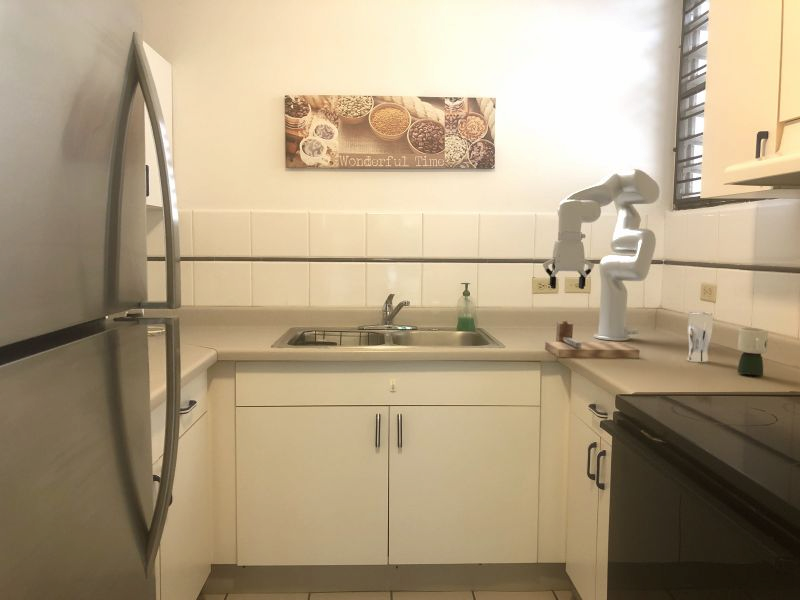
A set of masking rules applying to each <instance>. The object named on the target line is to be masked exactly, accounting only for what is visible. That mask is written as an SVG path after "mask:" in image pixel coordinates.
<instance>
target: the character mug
mask: <svg viewBox="0 0 800 600" xmlns="http://www.w3.org/2000/svg"><path fill="white" fill-rule="evenodd" d="M768 340H769V329H768V330H767V329H764V328H758V327H757V328H755V327H739V332H738V341H737V342H738V344H737V350H738V351H739V352H742V353H741V355H740V358H739V360H738V361H739V362H738V367H737V373H739V374H743V375H744V374H747V375H750V376H751V377H753V376H754V375H755V376H763V375H764V364H763V363H764V361H763V357H762V354H765V353H767V351H768Z"/></svg>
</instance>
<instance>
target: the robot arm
mask: <svg viewBox="0 0 800 600" xmlns="http://www.w3.org/2000/svg"><path fill="white" fill-rule="evenodd" d="M660 193H661V192H660V187H659V184H658V183H657V181H656V180H654V178H653V177H651V176H650V175H649V174H648V173H646V172H645V171H643V170H641V169H637V168H633V169H617V170H613V171H610V172H608V173H607V174H606V175H605V176H604V177H602V179H600V180H599V181H598V182H597V183H596V184H594V185H591V186H589V187H586V188H583V189H581V190H578V191H576V192H573V193H571V194H570V195H568V196H567V197H565V198H564V199H563V200H561V201H560V203H559V204H558V205H559V206H558V207H557V208H558V209H557V216H558V230H557V231H558V232H557V241H555V242H554V245H553V251H552V256H551V258H550V259H548V260H547V261H545V262H543V263H542V267H543V269H544V271H545V272H546V274H548V277H549V286H550V289H554V290H555V289H556V288H557V277H556V275H557V274H559V273H558V272H577V273H578V274H579V275H580V276H579V277H578V289H581V290H584V289H585V286H586V278H587V277H588V276H589V275H590V273H591V272H592V270H593V268H594V267H595V264H594V263H592V262H591V261H590V260H588V259H586V258H585V257H586V256H585V247H584V241H582V240H583V239H585V238H586V234H584V233H583V231H582V228H583V224H590V223H595V222H596V221H598V220H599V219H600V217H601V213H602V209H601V208H602V207H607V206H608V205H610V204H611V203H612V202H613V203H614V206H615V209H616V216H617V217H616V218H617V219H616V222H615V225H614V229H613V233H612V236H611V240H610V249H611V250H612V251H613V252H614V254H607V255H605V256H603V257H602V258H601V259H600V261H599V265H598V267H599V268H598V269H599V276H600V301H599V302H600V303H599V316H598V317H599V319H598V332H596V333H594V334H593V337H594V338H595V339H599V340H605V341H612V342H613V341H614V342H615V341H616V342H617V341H618V342H620V341H622V342H623V341H629V340H630V336H629V335H638V334H639V330H638V328H633V329H632V328H629V327H628V326H627V310H628V309H627V308H628V306H627V305H628V290H627V287H626V285H625V284H624V282H627V281H628V282H643V281H644V280H646V278H647V276H648V274H649V271H650V269H651V268H650V267H651V264H652V261H653V257H654V254H655V250H656V246H657V245H656V244H657V241H656V240H657V239H656V235H655V233H654V231H653V230H651V229H649V228H640V225H641V222H642V219H641V214H639V212H638V211H637V209H636V208H635V206H634V205H650V204H654V203H655V202H657V200H658V199H659V197H660ZM615 253H616V254H615ZM550 265H551V269H550V267H549V266H550ZM585 265H586V266H587V268H586V269H585ZM623 281H624V282H623Z"/></svg>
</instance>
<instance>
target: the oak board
mask: <svg viewBox="0 0 800 600" xmlns="http://www.w3.org/2000/svg"><path fill="white" fill-rule="evenodd" d="M579 342H580V343H582V346H581V347H574V346H572V345H570V344H568V343H566V342H556V341H545V344H544V349H545V350H546V351H547V352H549V353H551V354H553V355H554V356H556V357H558V358H605V359H606V358H608V359H609V358H610V359H611V358H612V359H613V358H615V359H617V358H624V359H625V358H627V359H628V358H629V359H639V358H640V349H638V348H636V347H633V346H630V345H628V344H625V343H623V342H619V341H618V342H617V341H616V342H615V341H614V342H613V341H609V342H607V341H606V342H604V341H603V342H602V341H599V342H598V341H590V342H589V341H579Z"/></svg>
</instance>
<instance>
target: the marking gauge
mask: <svg viewBox="0 0 800 600" xmlns="http://www.w3.org/2000/svg"><path fill="white" fill-rule="evenodd" d="M573 329H574V324H573V323H571V322H568V320H565V319H562V322H556V334H555V335H556V336H555V342H566V343H568V344H570V345H572V346H574V347H581V346H582V343H580V342H581V341H578V340H576V339H574V338H573V331H574V330H573Z"/></svg>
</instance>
